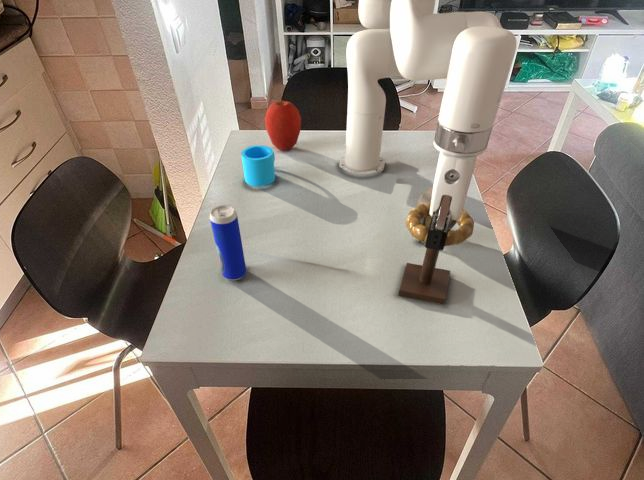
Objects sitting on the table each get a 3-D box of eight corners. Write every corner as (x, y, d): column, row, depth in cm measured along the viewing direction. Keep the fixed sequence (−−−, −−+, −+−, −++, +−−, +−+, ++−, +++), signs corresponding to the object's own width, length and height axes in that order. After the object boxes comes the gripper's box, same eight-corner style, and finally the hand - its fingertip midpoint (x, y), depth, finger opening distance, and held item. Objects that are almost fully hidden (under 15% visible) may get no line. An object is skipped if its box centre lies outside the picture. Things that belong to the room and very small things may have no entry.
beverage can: (223, 267, 93) (209, 204, 81) (246, 265, 93) (236, 203, 81) (222, 282, 89) (207, 220, 78) (246, 281, 89) (236, 218, 78)
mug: (266, 192, 112) (263, 162, 106) (239, 186, 114) (235, 156, 108) (287, 172, 119) (285, 142, 113) (261, 166, 121) (258, 137, 115)
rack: (405, 268, 91) (417, 212, 81) (448, 276, 89) (465, 219, 79) (398, 295, 86) (409, 239, 75) (443, 304, 84) (461, 248, 73)
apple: (307, 144, 129) (306, 94, 119) (291, 158, 124) (288, 107, 113) (278, 138, 133) (274, 88, 122) (261, 151, 127) (256, 100, 116)
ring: (411, 207, 83) (413, 196, 81) (474, 217, 80) (477, 205, 79) (400, 241, 76) (402, 230, 74) (468, 253, 73) (472, 241, 71)
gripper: (486, 165, 55) (452, 275, 69) (492, 115, 65) (461, 220, 79) (427, 157, 57) (406, 266, 71) (442, 110, 67) (420, 214, 81)
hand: (435, 241), depth 75 cm, fingers closed on ring, 2 cm apart
